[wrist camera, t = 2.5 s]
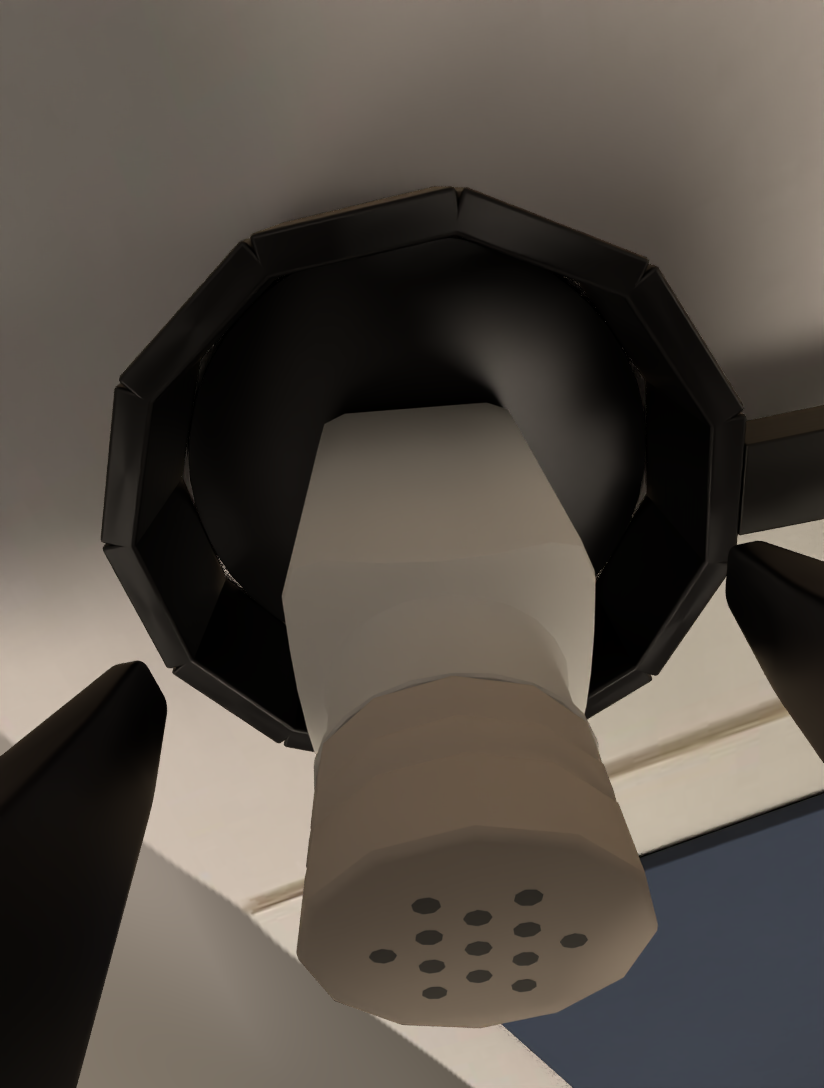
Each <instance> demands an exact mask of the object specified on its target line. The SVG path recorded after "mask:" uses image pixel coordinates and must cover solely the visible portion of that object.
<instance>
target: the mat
mask: <svg viewBox="0 0 824 1088" xmlns="http://www.w3.org/2000/svg"><path fill="white" fill-rule="evenodd" d="M640 861H641V864H642V866H643V869H644V871H645V875H646V879H647V883H648V887H649V891H650V895H651V899H652V903H653V907H654V911H655V915H656V919H657V923H658V927H657V932H656V933H655V934H654V936H653V937H652V938H651V940H650V941H649V943H648V944H647V945H646V947H645V948H644V950H643V951H642V952H641V954H640V955H639V957H638V958H637V959H636V961H635V962H634V964H633V965H632V966H631V968H630V969H629V971H628V972H627V973H626V975H625V976H624V977H623V978H622V979H620V980H618V981H616V982H614V983H612V984H610V985H608V986H606V987H605V988H603V989H601V990H599V991H597V992H595V993H593V994H591V995H589V996H587V997H586V998H584V999H582V1000H580V1001H578V1002H576V1003H574V1004H572V1005H570V1006H568V1007H567V1008H565V1009H563V1010H561V1011H559V1012H557V1013H552V1014H547V1015H542V1016H537V1017H532V1018H527V1019H522V1020H518V1021H513V1022H508V1023H503V1024H502V1025H503V1026H504V1027H505V1028H506V1029H508V1030H509V1031H510V1032H511V1033H512V1034H513V1035H514V1036H515V1037H517V1038H518V1039H519V1040H520V1041H521V1042H522V1043H523V1044H524V1045H526V1046H527V1047H528V1048H529V1049H530V1050H531V1051H532V1052H533V1053H535V1054H536V1055H537V1056H538V1057H539V1058H540V1059H541V1060H542V1061H544V1062H545V1063H546V1064H547V1065H548V1066H549V1067H550V1068H551V1069H553V1070H554V1071H555V1072H556V1073H557V1074H558V1075H559V1076H560V1077H562V1078H563V1079H564V1080H565V1081H566V1082H567V1083H568V1084H569V1085H570V1086H572V1087H573V1088H824V794H821V795H818V796H815V797H812V798H809V799H807V800H804V801H801V802H798V803H795V804H792V805H790V806H787V807H784V808H781V809H778V810H775V811H772V812H770V813H767V814H764V815H761V816H758V817H755V818H753V819H750V820H747V821H744V822H741V823H738V824H735V825H733V826H730V827H727V828H724V829H721V830H718V831H715V832H713V833H710V834H707V835H704V836H701V837H698V838H696V839H693V840H690V841H687V842H684V843H681V844H678V845H676V846H673V847H670V848H667V849H664V850H661V851H659V852H656V853H653V854H650V855H647V856H644V857H641V858H640Z"/></svg>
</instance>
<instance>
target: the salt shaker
mask: <svg viewBox="0 0 824 1088" xmlns="http://www.w3.org/2000/svg"><path fill="white" fill-rule="evenodd" d="M595 582H596V579H595V571H594V568H593V566H592V564H591V561H590V559H589V557H588V555H587V552H586V550H585V548H584V545H583V543H582V541H581V539H580V537H579V535H578V533H577V532H576V530H575V528H574V526H573V524H572V523H571V521H570V519H569V517H568V515H567V514H566V512H565V510H564V508H563V507H562V505H561V503H560V501H559V499H558V498H557V496H556V494H555V492H554V491H553V489H552V487H551V485H550V483H549V482H548V480H547V478H546V476H545V475H544V473H543V471H542V469H541V467H540V466H539V464H538V462H537V460H536V459H535V457H534V455H533V453H532V451H531V450H530V448H529V446H528V444H527V443H526V441H525V439H524V437H523V435H522V434H521V432H520V430H519V428H518V426H517V425H516V423H515V421H514V419H513V418H512V416H511V414H510V412H509V410H508V409H505V408H502V407H499V406H496V405H493V404H490V403H475V404H462V405H449V406H436V407H424V408H411V409H398V410H386V411H373V412H360V413H348V414H343V415H341V416H339V417H337V418H335V419H333V420H331V421H329V422H328V423H326V424H324V428H323V431H322V435H321V438H320V442H319V446H318V450H317V454H316V458H315V462H314V466H313V470H312V474H311V478H310V483H309V487H308V491H307V495H306V499H305V503H304V507H303V511H302V515H301V519H300V523H299V527H298V532H297V536H296V540H295V544H294V548H293V552H292V556H291V560H290V564H289V568H288V572H287V576H286V581H285V585H284V589H283V593H282V602H283V608H284V615H285V621H286V628H287V634H288V641H289V648H290V653H291V659H292V664H293V669H294V675H295V680H296V685H297V690H298V694H299V698H300V702H301V706H302V710H303V714H304V718H305V722H306V726H307V730H308V733H309V736H310V740H311V743H312V746H313V749H314V752H315V754H316V758H315V762H314V789H315V792H314V800H313V809H312V818H311V832H310V838H309V846H308V855H307V863H306V867H307V870H306V876H305V881H304V890H303V899H302V908H301V917H300V926H299V935H298V944H297V956H298V959H299V961H300V962H301V963H302V964H303V965H304V966H305V967H306V969H307V970H308V971H309V972H310V973H311V974H312V976H313V977H314V978H315V979H316V980H317V981H318V982H319V984H320V985H321V986H322V987H323V988H324V989H325V990H326V992H327V993H328V994H329V995H330V996H331V997H332V999H333V1000H334V1001H336V1002H339V1003H342V1004H345V1005H347V1006H350V1007H353V1008H356V1009H359V1010H361V1011H364V1012H367V1013H370V1014H373V1015H376V1016H378V1017H381V1018H384V1019H387V1020H390V1021H392V1022H395V1023H398V1024H401V1025H417V1026H441V1027H465V1028H483V1027H488V1026H493V1025H498V1024H503V1023H508V1022H513V1021H518V1020H522V1019H527V1018H532V1017H537V1016H542V1015H547V1014H552V1013H557V1012H559V1011H561V1010H563V1009H565V1008H567V1007H568V1006H570V1005H572V1004H574V1003H576V1002H578V1001H580V1000H582V999H584V998H586V997H587V996H589V995H591V994H593V993H595V992H597V991H599V990H601V989H603V988H605V987H606V986H608V985H610V984H612V983H614V982H616V981H618V980H620V979H622V978H623V977H624V976H625V975H626V973H627V972H628V971H629V969H630V968H631V966H632V965H633V964H634V962H635V961H636V959H637V958H638V957H639V955H640V954H641V952H642V951H643V950H644V948H645V947H646V945H647V944H648V943H649V941H650V940H651V938H652V937H653V936H654V934H655V933H656V932H657V927H658V923H657V919H656V915H655V911H654V907H653V903H652V899H651V895H650V891H649V887H648V883H647V879H646V875H645V871H644V869H643V866H642V864H641V861H640V858H639V856H638V853H637V851H636V848H635V845H634V843H633V840H632V837H631V835H630V832H629V830H628V827H627V824H626V822H625V819H624V817H623V814H622V811H621V809H620V806H619V804H618V802H616V798H615V795H614V791H613V788H612V785H611V783H610V780H609V777H608V775H607V772H606V770H605V767H604V764H602V762H601V758H600V754H599V749H598V742H597V739H596V737H595V735H594V733H593V731H592V729H591V727H590V725H589V723H588V721H587V719H586V717H585V715H584V713H585V709H586V704H587V697H588V690H589V682H590V675H591V665H592V652H593V640H594V621H595Z"/></svg>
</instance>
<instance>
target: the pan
mask: <svg viewBox="0 0 824 1088" xmlns="http://www.w3.org/2000/svg"><path fill="white" fill-rule="evenodd" d="M451 236H457V237H460V238H454V237H451ZM461 238H463V239H461ZM547 270H549V271H551V272H554V273H557V274H559V275H562V276H565V277H567V278H570V279H573V280H575V281H577V282H578V283H579V285H580V286H581V288H582V289H583V290H584V292H585V293H586V295H587V296H588V298H589V299H590V301H591V302H592V303H593V305H594V306H595V308H596V309H597V311H598V312H599V314H600V315H601V316H602V318H603V319H604V321H605V322H606V323H605V322H604V321H603V320H602V318H601V317H600V316H599V315H598V313H597V312H596V311H595V310H594V308H593V307H592V306H591V305H590V304H589V303H588V302H587V301H586V300H585V299H583V298H582V297H581V296H580V295H579V294H578V293H577V292H576V291H575V290H574V289H572V288H571V287H570V286H569V285H568V284H567V283H566V282H564V281H562V280H561V279H559V278H558V277H556V276H555V275H553V274H552V273H550V272H549V271H547ZM288 274H290V275H288ZM284 275H288V276H287V277H285V278H284V279H282V280H281V281H279V282H278V283H276V284H275V285H274V286H272V287H271V288H270V289H269V290H268V291H267V292H265V293H264V294H263V295H262V296H261V297H260V298H259V299H258V300H257V301H256V302H255V303H253V302H254V301H255V300H256V299H257V298H258V297H259V296H260V295H261V294H262V293H263V292H264V291H265V290H266V288H267V287H268V286H269V285H270V284H271V283H272V282H273V281H274V280H275V279H276V278H277V277H280V276H284ZM252 303H253V304H252ZM242 314H243V315H242ZM241 315H242V316H241ZM240 316H241V317H240ZM239 317H240V318H239ZM238 318H239V320H238V321H237V319H238ZM236 321H237V322H236ZM235 322H236V323H235ZM234 323H235V325H234V326H233V327H232V328H231V330H230V331H229V332H228V333H227V335H226V336H225V337H224V339H223V341H222V343H221V344H220V346H219V348H218V349H217V351H216V353H215V355H214V356H213V358H212V360H211V361H210V363H209V365H208V368H207V370H206V373H205V375H204V378H203V380H202V383H201V385H200V388H199V390H198V393H197V397H196V402H195V406H194V399H195V393H196V386H197V380H198V374H199V367H200V361H201V358H202V357H203V356H204V355H205V354H206V353H207V352H208V350H209V349H210V348H211V347H212V346H213V345H214V344H215V343H216V342H217V341H218V340H219V339H220V338H221V337H222V335H223V334H224V333H225V332H226V331H227V330H228V329H229V328H230V327H231V326H232V325H233V324H234ZM607 325H608V326H607ZM612 332H613V333H612ZM614 335H615V336H614ZM615 337H616V338H617V339H616V338H615ZM617 340H618V341H619V342H620V344H621V345H622V347H623V348H624V350H625V351H626V353H627V354H628V355H629V357H630V358H631V360H632V361H633V363H634V364H635V366H636V367H637V368H638V370H639V371H640V373H641V374H642V376H643V377H644V379H645V394H646V432H645V420H644V411H643V406H642V402H641V398H640V393H639V389H638V385H637V382H636V379H635V377H634V374H633V372H632V369H631V367H630V364H629V362H628V359H627V357H626V355H625V353H624V351H623V350H622V348H621V346H620V345H619V343H618V341H617ZM119 381H120V384H119V385H117V386H116V387H115V389H114V398H113V409H112V420H111V431H110V442H109V453H108V464H107V475H106V486H105V497H104V507H103V518H102V529H101V542H103V543H106V544H105V545H104V547H103V551H104V553H105V555H106V557H107V559H108V561H109V562H110V564H111V566H112V568H113V570H114V572H115V573H116V575H117V577H118V579H119V581H120V583H121V584H122V586H123V588H124V590H125V592H126V594H127V595H128V597H129V599H130V601H131V603H132V604H133V606H134V608H135V610H136V612H137V614H138V615H139V617H140V619H141V621H142V623H143V625H144V626H145V628H146V630H147V632H148V634H149V636H150V637H151V639H152V641H153V643H154V645H155V647H156V648H157V650H158V652H159V654H160V656H161V658H162V659H163V661H164V663H165V665H166V667H167V668H173V671H172V673H173V674H174V675H176V676H177V677H179V678H180V679H182V680H183V681H185V682H186V683H188V684H189V685H191V686H192V687H194V688H195V689H197V690H198V691H200V692H201V693H203V694H204V695H206V696H207V697H209V698H210V699H212V700H213V701H215V702H216V703H218V704H219V705H221V706H222V707H224V708H225V709H227V710H228V711H230V712H231V713H233V714H234V715H236V716H237V717H239V718H240V719H242V720H243V721H245V722H246V723H248V724H249V725H251V726H252V727H254V728H255V729H257V730H258V731H260V732H261V733H263V734H264V735H266V736H267V737H269V738H270V739H272V740H273V741H275V742H276V743H281V742H283V741H284V746H286V747H290V748H295V749H300V750H306V751H311V752H314V749H313V746H312V743H311V740H310V736H309V733H308V730H307V726H306V722H305V718H304V714H303V710H302V706H301V702H300V698H299V694H298V690H297V685H296V680H295V675H294V669H293V664H292V659H291V653H290V648H289V641H288V634H287V628H286V621H285V615H284V608H283V602H282V593H283V589H284V585H285V581H286V576H287V572H288V568H289V564H290V560H291V556H292V552H293V548H294V544H295V540H296V536H297V532H298V527H299V523H300V519H301V515H302V511H303V507H304V503H305V499H306V495H307V491H308V487H309V483H310V478H311V474H312V470H313V466H314V462H315V458H316V454H317V450H318V446H319V442H320V438H321V435H322V431H323V428H324V424H326V423H328V422H329V421H331V420H333V419H335V418H337V417H339V416H341V415H343V414H348V413H360V412H373V411H386V410H398V409H411V408H424V407H436V406H449V405H462V404H475V403H490V404H493V405H496V406H499V407H502V408H505V409H508V410H509V412H510V414H511V416H512V418H513V419H514V421H515V423H516V425H517V426H518V428H519V430H520V432H521V434H522V435H523V437H524V439H525V441H526V443H527V444H528V446H529V448H530V450H531V451H532V453H533V455H534V457H535V459H536V460H537V462H538V464H539V466H540V467H541V469H542V471H543V473H544V475H545V476H546V478H547V480H548V482H549V483H550V485H551V487H552V489H553V491H554V492H555V494H556V496H557V498H558V499H559V501H560V503H561V505H562V507H563V508H564V510H565V512H566V514H567V515H568V517H569V519H570V521H571V523H572V524H573V526H574V528H575V530H576V532H577V533H578V535H579V537H580V539H581V541H582V543H583V545H584V548H585V550H586V552H587V555H588V557H589V559H590V561H591V564H592V566H593V568H594V571H595V576H596V575H597V574H598V573H599V572H600V570H601V569H602V568H603V567H604V566H605V564H606V563H607V564H606V566H605V567H604V569H603V571H602V573H601V574H600V576H599V578H598V580H597V581H596V583H595V621H594V640H593V652H592V665H591V675H590V682H589V690H588V697H587V704H586V709H585V713H584V715H585V717H586V719H589V718H590V717H592V716H594V715H595V714H597V713H599V712H600V711H602V710H604V709H605V708H607V707H609V706H610V705H612V704H614V703H615V702H617V701H619V700H620V699H622V698H624V697H625V696H627V695H629V694H630V693H632V692H634V691H635V690H637V689H639V688H640V687H642V686H644V685H645V684H647V683H649V682H650V681H651V680H652V677H651V675H655V676H656V675H658V674H659V673H660V671H661V670H662V668H663V667H664V665H665V664H666V663H667V661H668V660H669V658H670V657H671V655H672V654H673V652H674V651H675V650H676V648H677V647H678V645H679V644H680V642H681V641H682V639H683V638H684V637H685V635H686V634H687V632H688V631H689V629H690V628H691V626H692V625H693V624H694V622H695V621H696V619H697V618H698V616H699V615H700V613H701V612H702V611H703V609H704V608H705V606H706V605H707V603H708V602H709V600H710V599H711V598H712V596H713V595H714V593H715V592H716V590H717V589H718V587H719V586H720V585H721V583H722V582H723V580H724V579H725V577H726V576H727V562H728V554H729V551H730V549H731V548H732V547H733V546H735V545H737V535H738V534H739V535H744V534H749V533H754V532H759V531H765V530H770V529H775V528H780V527H785V526H790V525H796V524H801V523H806V522H811V521H816V520H821V519H824V405H820V406H815V407H810V408H806V409H801V410H796V411H791V412H786V413H781V414H776V415H772V416H767V417H762V418H757V419H752V420H747V421H746V416H745V414H743V413H742V412H741V411H743V409H744V405H743V403H742V402H741V400H740V398H739V397H738V395H737V394H736V392H735V390H734V389H733V387H732V385H731V384H730V382H729V381H728V379H727V377H726V376H725V374H724V372H723V371H722V369H721V368H720V366H719V364H718V363H717V361H716V360H715V358H714V356H713V355H712V353H711V351H710V350H709V348H708V347H707V345H706V343H705V342H704V340H703V339H702V337H701V335H700V334H699V332H698V330H697V329H696V327H695V326H694V324H693V322H692V321H691V319H690V318H689V316H688V314H687V313H686V311H685V309H684V308H683V306H682V305H681V303H680V301H679V300H678V298H677V296H676V295H675V293H674V292H673V290H672V288H671V287H670V285H669V284H668V282H667V280H666V279H665V277H664V275H663V274H662V272H661V271H660V269H659V267H657V266H655V265H652V264H649V260H648V258H647V257H645V256H642V255H639V254H637V253H634V252H632V251H629V250H627V249H624V248H622V247H619V246H616V245H614V244H611V243H609V242H606V241H604V240H601V239H599V238H596V237H593V236H591V235H588V234H586V233H583V232H581V231H578V230H576V229H573V228H570V227H568V226H565V225H563V224H560V223H558V222H555V221H553V220H550V219H547V218H545V217H542V216H540V215H537V214H535V213H532V212H530V211H527V210H524V209H522V208H519V207H517V206H514V205H512V204H509V203H507V202H504V201H501V200H499V199H496V198H494V197H491V196H489V195H486V194H484V193H481V192H478V191H476V190H473V189H471V188H468V187H452V186H433V187H429V188H425V189H421V190H417V191H412V192H408V193H404V194H400V195H396V196H391V197H387V198H383V199H379V200H375V201H370V202H366V203H362V204H358V205H354V206H350V207H345V208H341V209H337V210H333V211H329V212H324V213H320V214H316V215H312V216H308V217H303V218H299V219H295V220H291V221H287V222H283V223H280V224H277V225H274V226H272V227H269V228H266V229H264V230H261V231H258V232H255V233H253V234H252V235H251V236H250V238H248V239H245V240H243V241H240V242H238V244H237V245H236V246H235V247H234V248H233V249H232V250H231V252H230V253H229V254H228V255H227V256H226V257H225V258H224V259H223V261H222V262H221V263H220V264H219V265H218V266H217V267H216V268H215V270H214V271H213V272H212V273H211V274H210V275H209V276H208V277H207V279H206V280H205V281H204V282H203V283H202V284H201V285H200V286H199V288H198V289H197V290H196V291H195V292H194V293H193V294H192V295H191V297H190V298H189V299H188V300H187V301H186V302H185V303H184V304H183V306H182V307H181V308H180V309H179V310H178V311H177V312H176V313H175V315H174V316H173V317H172V318H171V319H170V320H169V321H168V322H167V324H166V325H165V326H164V327H163V328H162V329H161V330H160V331H159V333H158V334H157V335H156V336H155V337H154V338H153V339H152V340H151V342H150V343H149V344H148V345H147V346H146V347H145V348H144V349H143V351H142V352H141V353H140V354H139V355H138V356H137V357H136V358H135V360H134V361H133V362H132V363H131V364H130V365H129V366H128V367H127V369H126V370H125V371H124V372H123V373H122V374H121V375H120V378H119ZM193 406H194V410H193ZM192 412H193V415H192ZM191 418H192V419H191ZM190 425H191V426H190ZM189 431H190V438H189V450H188V452H189V468H190V480H191V485H192V490H193V495H194V499H195V504H196V508H197V510H198V513H199V516H200V518H199V516H198V513H197V511H196V509H195V506H194V504H193V502H192V500H191V497H190V495H189V493H188V490H187V488H186V486H185V484H184V481H183V479H182V475H183V469H184V463H185V456H186V450H187V444H188V437H189ZM645 452H646V489H647V494H646V496H645V497H644V499H643V501H642V503H641V504H640V506H639V508H638V510H637V511H636V513H635V515H634V517H633V518H632V520H631V517H632V514H633V511H634V508H635V506H636V503H637V500H638V497H639V493H640V488H641V483H642V478H643V473H644V468H645ZM200 519H201V520H200ZM630 520H631V522H630ZM629 522H630V524H629ZM202 524H203V525H202ZM628 524H629V525H628ZM627 526H628V527H627ZM626 528H627V529H626ZM625 530H626V531H625ZM208 538H209V539H208ZM209 540H210V541H209ZM210 542H211V543H210ZM211 544H212V545H211ZM212 546H213V548H214V550H215V552H216V554H217V555H218V557H219V558H220V560H221V561H222V563H223V564H224V565H225V567H226V568H227V570H228V571H229V573H230V574H231V575H232V577H233V578H234V579H235V580H236V581H237V582H238V583H239V584H240V586H241V587H242V588H243V589H244V590H245V591H246V592H247V593H248V594H249V596H248V595H247V594H246V593H245V592H243V591H242V590H241V589H239V588H238V587H237V586H236V585H234V584H233V583H232V582H230V581H229V580H228V579H226V577H225V575H224V573H223V571H222V568H221V566H220V564H219V561H218V559H217V557H216V555H215V552H214V550H213V548H212ZM610 556H611V557H610ZM609 558H610V559H609ZM607 561H608V562H607ZM250 596H251V597H252V598H253V599H252V598H251V597H250ZM283 622H284V623H283ZM650 674H651V675H650Z"/></svg>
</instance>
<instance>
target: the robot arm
mask: <svg viewBox="0 0 824 1088" xmlns="http://www.w3.org/2000/svg"><path fill="white" fill-rule="evenodd" d="M726 599H727V603H728V606H729V608H730V610H731V612H732V614H733V616H734V617H735V619H736V621H737V623H738V625H739V627H740V629H741V631H742V632H743V634H744V636H745V638H746V640H747V642H748V644H749V645H750V647H751V649H752V651H753V653H754V655H755V657H756V659H757V660H758V662H759V664H760V666H761V668H762V670H763V672H764V674H765V675H766V677H767V679H768V681H769V683H770V684H771V686H772V688H773V690H774V691H775V693H776V695H777V696H778V698H779V699H780V701H781V702H782V704H783V705H784V707H785V708H786V710H787V711H788V712H789V714H790V715H791V717H792V718H793V720H794V721H795V723H796V724H797V725H798V727H799V728H800V730H801V731H802V733H803V734H804V736H805V737H806V738H807V740H808V741H809V743H810V744H811V746H812V747H813V748H814V750H815V751H816V753H817V754H818V756H819V757H820V759H821V760H822V761H823V763H824V561H821V560H818V559H815V558H812V557H809V556H806V555H803V554H800V553H797V552H794V551H791V550H788V549H785V548H782V547H779V546H776V545H773V544H770V543H767V542H763V541H754V542H749V543H744V544H739V545H735V546H733V547H732V548H731V549H730V551H729V554H728V562H727V576H726ZM166 716H167V704H166V700H165V697H164V695H163V693H162V691H161V690H160V688H159V686H158V684H157V683H156V681H155V679H154V677H153V675H152V674H151V672H150V670H149V668H148V667H147V665H146V664H145V663H143V662H141V661H132V662H127V663H122V664H117V665H115V666H113V667H111V668H110V669H109V670H107V671H106V672H105V673H104V674H102V675H101V676H100V677H99V678H97V679H96V680H95V681H94V682H92V683H91V684H90V685H89V686H87V687H86V688H85V689H84V690H82V691H81V692H80V693H79V694H77V695H76V696H75V697H74V698H72V699H71V700H70V701H69V702H67V703H66V704H65V705H64V706H62V707H61V708H60V709H59V710H57V711H56V712H55V713H54V714H52V715H51V716H50V717H49V718H47V719H46V720H45V721H44V722H42V723H41V724H40V725H39V726H37V727H36V728H35V729H34V730H33V731H31V732H30V733H29V734H28V735H26V736H25V737H24V738H23V739H21V740H20V741H19V742H18V743H16V744H15V745H14V746H13V747H11V748H10V749H9V750H8V751H7V752H5V753H4V754H3V755H1V756H0V1088H76V1086H77V1083H78V1079H79V1076H80V1071H81V1068H82V1064H83V1061H84V1057H85V1053H86V1049H87V1046H88V1042H89V1039H90V1035H91V1031H92V1027H93V1024H94V1020H95V1016H96V1012H97V1009H98V1005H99V1001H100V998H101V994H102V990H103V986H104V983H105V979H106V975H107V971H108V968H109V964H110V960H111V956H112V953H113V949H114V945H115V942H116V938H117V934H118V931H119V927H120V923H121V919H122V916H123V912H124V908H125V905H126V901H127V897H128V893H129V890H130V886H131V882H132V878H133V875H134V871H135V867H136V864H137V860H138V856H139V853H140V848H141V845H142V841H143V838H144V834H145V830H146V826H147V823H148V819H149V815H150V811H151V807H152V802H153V797H154V792H155V787H156V780H157V774H158V767H159V761H160V755H161V748H162V742H163V735H164V729H165V722H166Z"/></svg>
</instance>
